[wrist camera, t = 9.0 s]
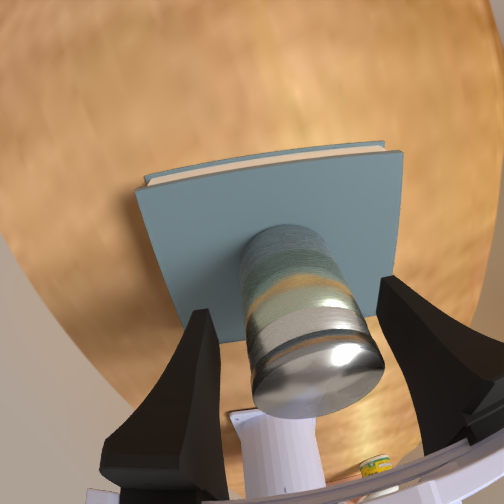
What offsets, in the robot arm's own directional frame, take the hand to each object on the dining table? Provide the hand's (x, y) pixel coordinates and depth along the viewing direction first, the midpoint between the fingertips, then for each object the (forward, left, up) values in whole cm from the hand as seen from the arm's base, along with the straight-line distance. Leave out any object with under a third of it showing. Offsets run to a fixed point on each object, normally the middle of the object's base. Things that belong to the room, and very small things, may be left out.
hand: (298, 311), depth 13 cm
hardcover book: (0, 0, -6) cm, 6 cm away
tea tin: (0, 0, -3) cm, 3 cm away
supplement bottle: (-46, -13, -6) cm, 48 cm away
